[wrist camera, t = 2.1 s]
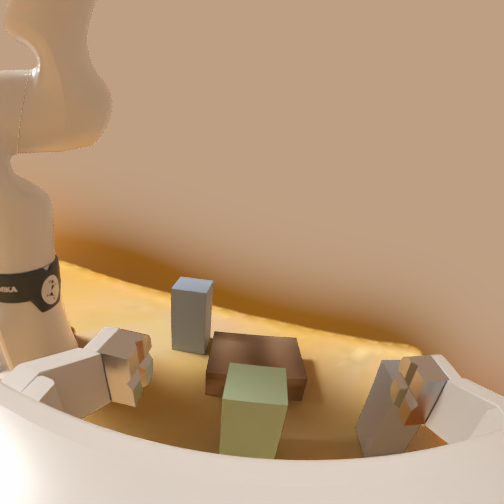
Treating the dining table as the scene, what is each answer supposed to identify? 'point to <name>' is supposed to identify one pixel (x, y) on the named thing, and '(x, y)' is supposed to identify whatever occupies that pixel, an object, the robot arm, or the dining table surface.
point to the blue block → (191, 314)
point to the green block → (253, 410)
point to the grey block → (383, 417)
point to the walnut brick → (254, 359)
